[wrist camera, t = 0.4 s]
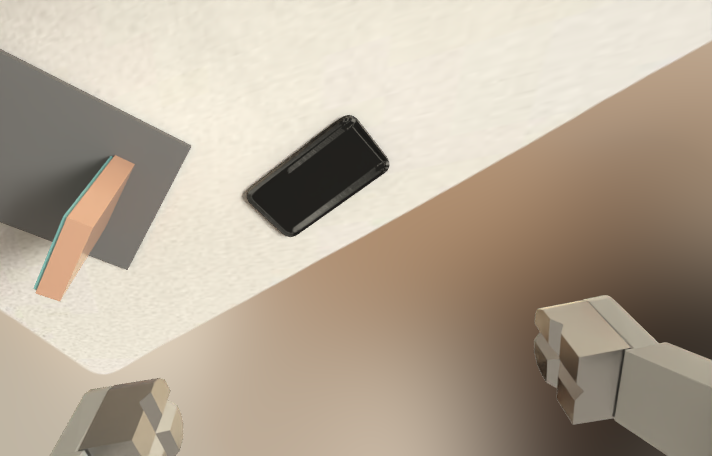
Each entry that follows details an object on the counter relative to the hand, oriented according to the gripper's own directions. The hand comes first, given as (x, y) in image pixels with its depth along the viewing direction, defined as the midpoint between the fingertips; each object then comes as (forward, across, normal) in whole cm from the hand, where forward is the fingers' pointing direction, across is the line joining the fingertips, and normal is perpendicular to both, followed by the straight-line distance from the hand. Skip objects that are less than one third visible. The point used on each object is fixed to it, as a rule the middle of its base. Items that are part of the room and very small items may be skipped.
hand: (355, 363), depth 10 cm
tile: (+40, +24, +8) cm, 47 cm away
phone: (+42, +2, +11) cm, 43 cm away
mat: (+40, +28, +4) cm, 49 cm away
